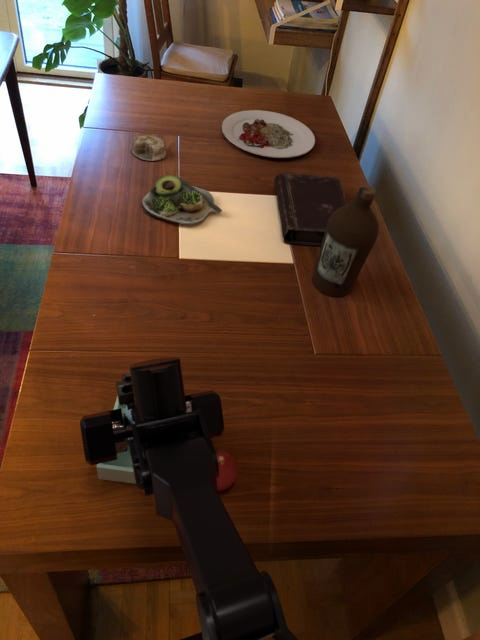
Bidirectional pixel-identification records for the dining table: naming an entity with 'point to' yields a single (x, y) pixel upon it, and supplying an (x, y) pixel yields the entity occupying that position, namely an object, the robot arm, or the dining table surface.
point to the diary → (307, 206)
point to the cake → (149, 148)
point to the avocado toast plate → (178, 201)
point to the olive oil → (346, 245)
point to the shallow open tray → (118, 463)
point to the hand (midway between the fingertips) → (146, 411)
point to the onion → (225, 470)
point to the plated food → (268, 134)
